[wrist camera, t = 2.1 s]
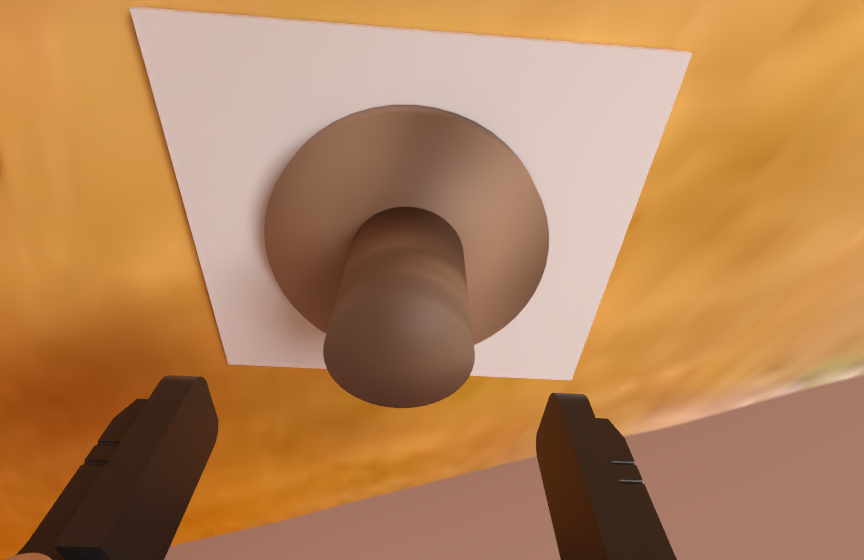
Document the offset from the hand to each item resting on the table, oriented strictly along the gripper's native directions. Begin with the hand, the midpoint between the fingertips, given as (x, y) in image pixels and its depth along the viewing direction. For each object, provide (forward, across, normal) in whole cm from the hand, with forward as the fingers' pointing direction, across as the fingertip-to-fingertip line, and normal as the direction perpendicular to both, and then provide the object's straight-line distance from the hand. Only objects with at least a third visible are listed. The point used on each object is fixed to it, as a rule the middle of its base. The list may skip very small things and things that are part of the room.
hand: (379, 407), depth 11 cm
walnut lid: (+8, 0, 0) cm, 8 cm away
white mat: (+8, 0, 0) cm, 8 cm away
